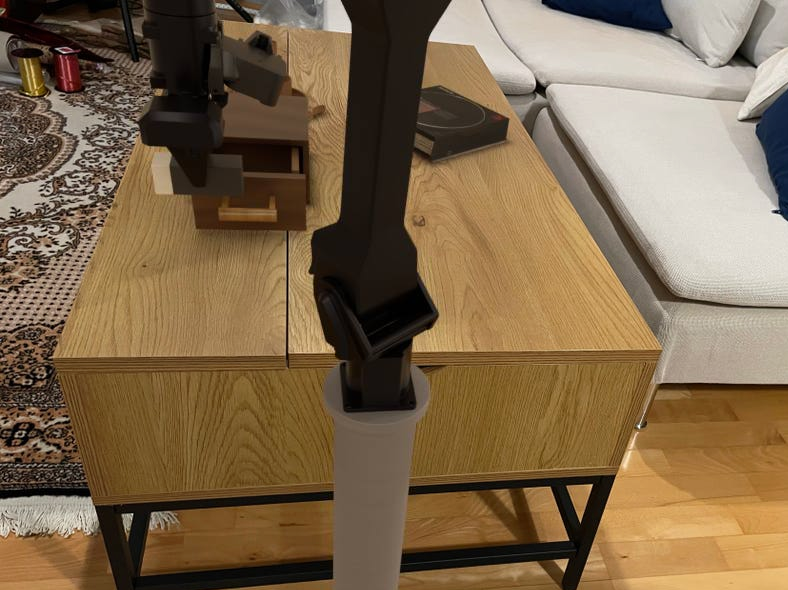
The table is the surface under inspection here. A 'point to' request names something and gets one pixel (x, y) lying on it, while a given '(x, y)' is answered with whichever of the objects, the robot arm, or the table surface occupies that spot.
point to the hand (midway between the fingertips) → (200, 178)
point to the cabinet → (270, 125)
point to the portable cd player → (455, 125)
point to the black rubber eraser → (219, 178)
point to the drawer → (258, 192)
